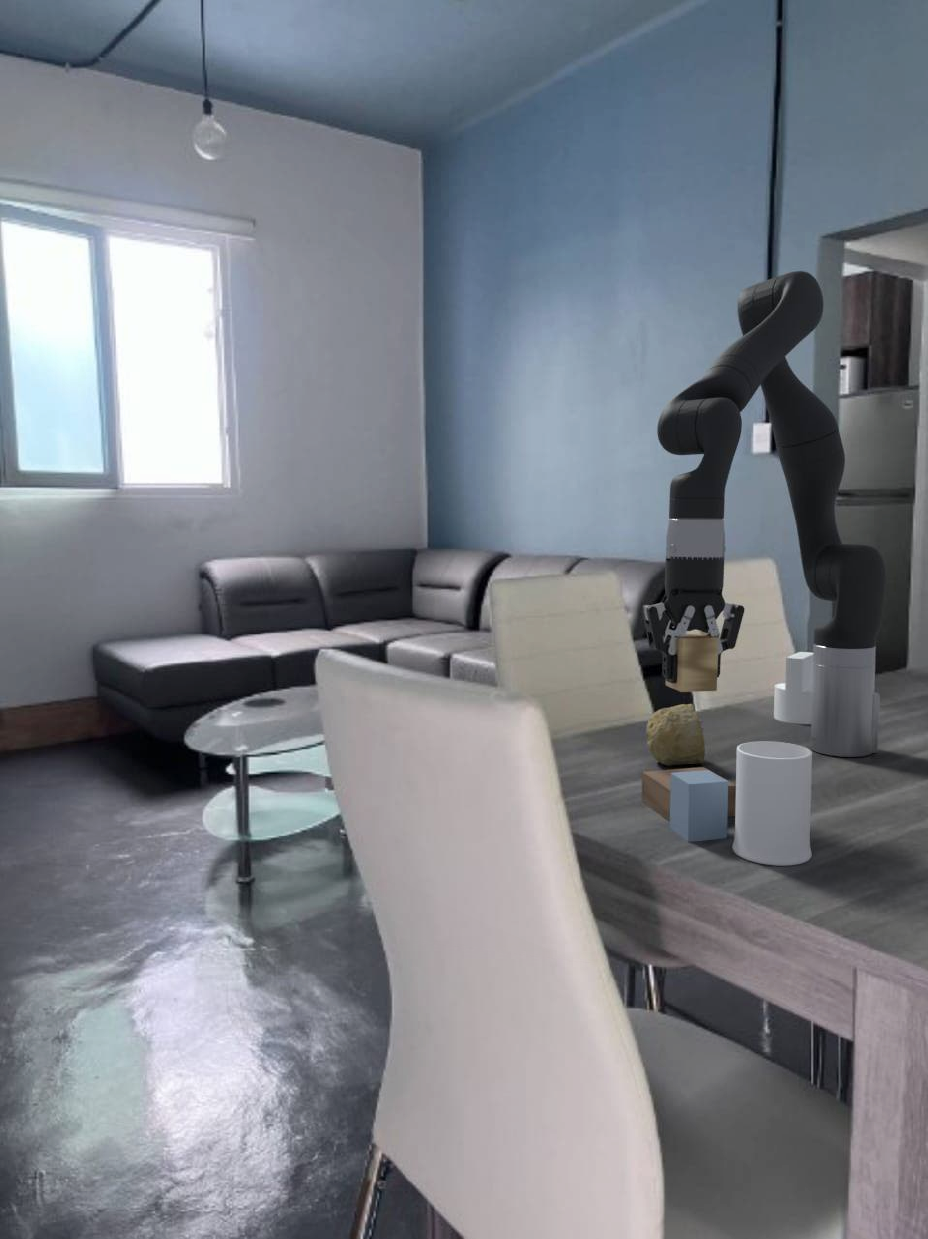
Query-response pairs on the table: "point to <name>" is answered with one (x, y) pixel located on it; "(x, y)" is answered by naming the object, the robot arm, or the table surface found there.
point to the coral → (676, 735)
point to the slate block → (698, 805)
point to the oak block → (696, 664)
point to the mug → (773, 803)
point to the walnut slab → (659, 791)
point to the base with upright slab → (795, 690)
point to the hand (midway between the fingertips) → (690, 681)
